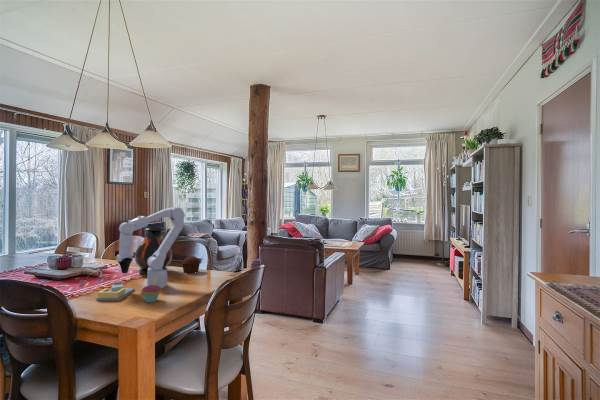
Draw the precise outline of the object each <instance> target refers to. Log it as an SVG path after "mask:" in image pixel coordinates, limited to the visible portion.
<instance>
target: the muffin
mask: <svg viewBox="0 0 600 400" xmlns="http://www.w3.org/2000/svg"><path fill="white" fill-rule="evenodd" d="M181 264H182V271H183V274H185V273H195V272H199V269H200V264H201V260H200V259H199V258H198V257H196V256H193V255H191V256H190V255H189V256H187V257H185V258H184V259H183V260H182V262H181ZM195 274H196V273H195Z"/></svg>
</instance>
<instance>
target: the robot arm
mask: <svg viewBox="0 0 600 400" xmlns="http://www.w3.org/2000/svg"><path fill="white" fill-rule="evenodd" d="M185 216H186V214H185V212H184V209H182V208H181V207H175V206H171V207H168V208H167V207H166V208H164V209H162V210H159V211H157V212H155V213H152V214H150V215H148V216H144V215H138V216H137V217H135V218H133V219H132V220H130V219H128V220H127V222H122V223H120V224H119V227H118V231H119V243H118V245H119V246H118V254H117V255H116V258H115V259H116V262H117V263H118V264H119V266H120V270H121V273H122V274H128V272H129V270H130V266H131V263H132V262H133V259H134V258H133V257H135V254H134V252H133V233H134V231H138V230H141V229H144V228H147V227H148V225H149V223H153V222H155V221H157V220H159V219H162V218H169V219H170V221H171V223H172V226H171V228H170V230H168V233H167V234H166V236H165V237H164V240H163V242H162V243H161V245H160V247H159V248H158V250H157V251H156V252H155V253H154V254H153V255H152V256H151V257H149V258H148V260H147V265H148V266H149V268H148V273H147V279H146V281H147V282H146V285H145V286H144V287H147V286H149V285H154V279H155V276H157V277H156V282H155V285H157V286H160V288H161V289H163V288H165V287H166V286H168V269H167V270H163V269H162V267H163V265H164V261H165V259H166V254H167V252H168V251H169V249H170V247H171V248H172V246H173V244H174V242H175V241H176V239H177V238H178V237H179V235H180V233H181V231H182V230H183V229H184V225H185V224H184V223H185ZM156 274H157V275H156Z"/></svg>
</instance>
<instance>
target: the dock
mask: <svg viewBox="0 0 600 400" xmlns="http://www.w3.org/2000/svg"><path fill="white" fill-rule="evenodd" d="M111 290H112V288H110V290H109V288H108V287H106V288H104V289H101V290H100V291H97V297H96V301H97V302H98V301H99V302H100V301H108V302H109V301H113V302H114V301H115V302H116V301H118V302H119V301H122V299H124V298H126V297H127V296H129V295H130V294H131V293H133V292H135V287H123V289H121V290H119V291H118V292H111Z"/></svg>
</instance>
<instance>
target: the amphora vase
mask: <svg viewBox="0 0 600 400" xmlns="http://www.w3.org/2000/svg"><path fill="white" fill-rule="evenodd" d="M142 229H143V231H144V232H146V237H145V238H144V239H143V240H142V241H141V242H140V243H139V244H138V246H137V248H136V249H135V254H134V262H135V264H136V265H137V267H139V269H138V273H140V274H141V275H144V274H146V275H147V273H148V268H149V266H148V265H147V260H148V258H149V257H151V256H152V255H153V254H154V253H155V252H156V251H157V250H158V248H159V247H160V245H161V243H162V242H163V240H164V239H165V237H163V232H165V231H166V230H167V229H166V228H165V227H158V226H156V227H153V226H152V227H151V226H149V227H143V228H142ZM172 260H173V251H172V246H171V247H170V249H169V251H168V252H167V254H166V259H165V261H164V265H163V267H162V269H163V270H167V271H168V268H167V267H168V265H170V264H171V262H172Z"/></svg>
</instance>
